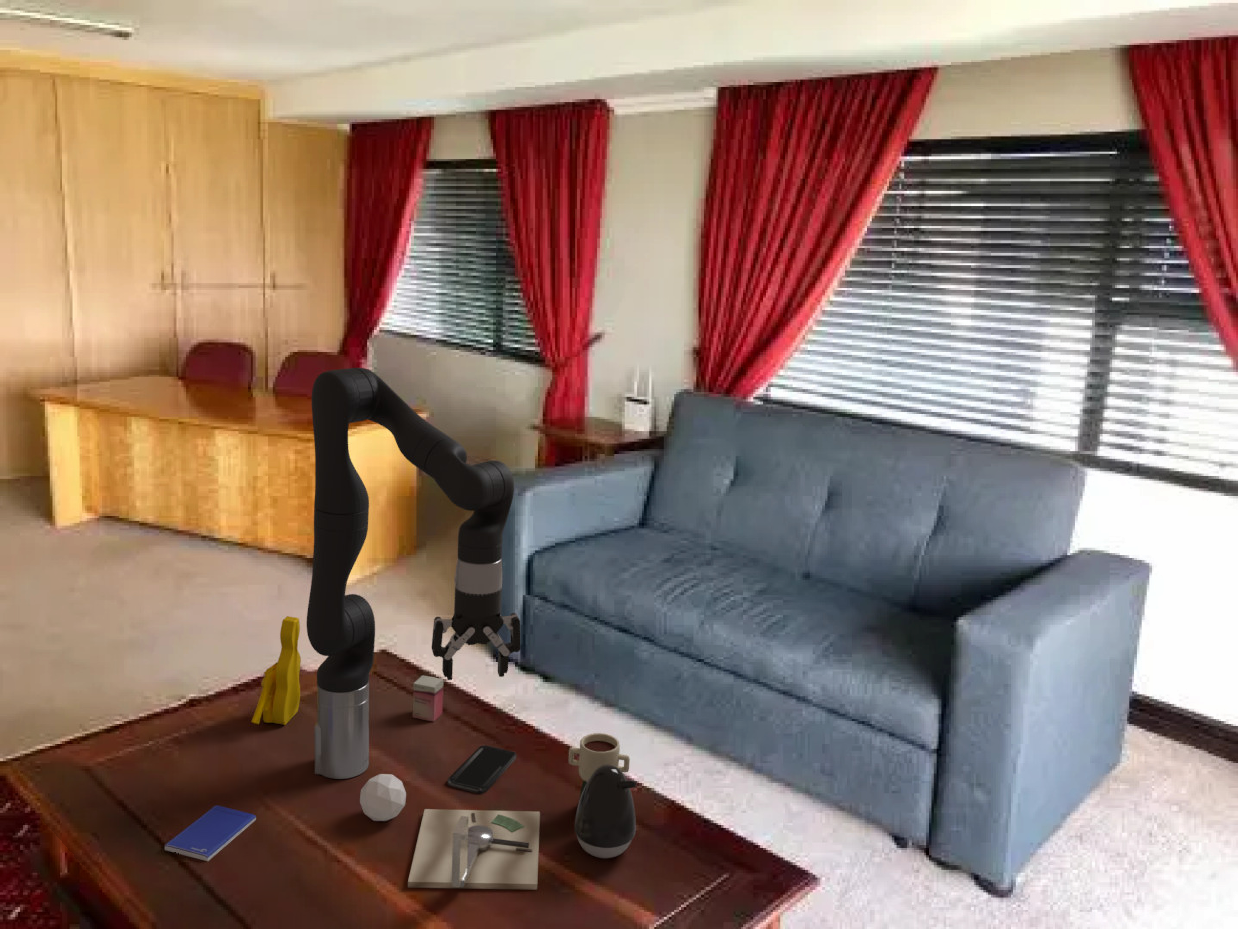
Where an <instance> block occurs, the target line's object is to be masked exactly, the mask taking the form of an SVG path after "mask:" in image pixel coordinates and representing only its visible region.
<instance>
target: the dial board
mask: <svg viewBox="0 0 1238 929" xmlns="http://www.w3.org/2000/svg"><path fill="white" fill-rule="evenodd" d="M422 815H423V816H422V819H421V824H420V828H419V831H418V836H417V841H416V845H415V849H414V854H413V857H412V863H411V867H410V872H409V876H408V881H407V888H418V889H419V888H421V889H422V888H424V889H425V888H426V889H428V888H429V889H476V890H477V889H478V890H479V889H480V890H481V889H482V890H484V889H485V890H532V891H533V890H535V891H536V890H538V876H539V874H538V872H539V846H540V822H541V820H540V819H541V812H540V811H531V810H530V811H527V810H526V811H524V810H523V811H522V810H485V809H484V810H479V809H439V808H438V809H436V808H434V809H432V808H431V809H430V808H424V811H423V814H422ZM461 816H465V817H469V819H468V828H469V827H472V826H477V825H481V826H486V827H488V828H490V829H491V830H492V831H493V838H494V839H502V840H510V841H518V842H526V843H529V848H523V847H515V846H507V845H499V844H492V846H491V847H490V848H488V849H486V850H483V851H479V852H478V854H477V857H476V859H475V862H474V864H473V866H472V869H471V871H470V873H469V876H468V878H467V880H466V883H465V885H464V887H452V848H453V831H454V829H455V827H456V825H457V823H458V821H459V819H460V817H461Z"/></svg>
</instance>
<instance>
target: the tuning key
mask: <svg viewBox="0 0 1238 929" xmlns="http://www.w3.org/2000/svg"><path fill="white" fill-rule="evenodd" d="M468 819H469V817H465V816H461V817H460V819H459V821H458V823H457V825H456V827H455V829H454V831H453V848H452V887H464V885H465V883H466V880H467V878H468V876H469V873H470V871H471V869H472V866H473V864H474V862H475V859H476V857H477V854H478V852H479V851H483V850H486V849H488V848H490V847H491V846H492V844H499V845H507V846H515V847H523V848H529V843H526V842H518V841H510V840H502V839H494V838H493V831H492V830H491V829H490V828H488V827H486V826H481V825H477V826H472V827H469V828H468Z"/></svg>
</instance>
